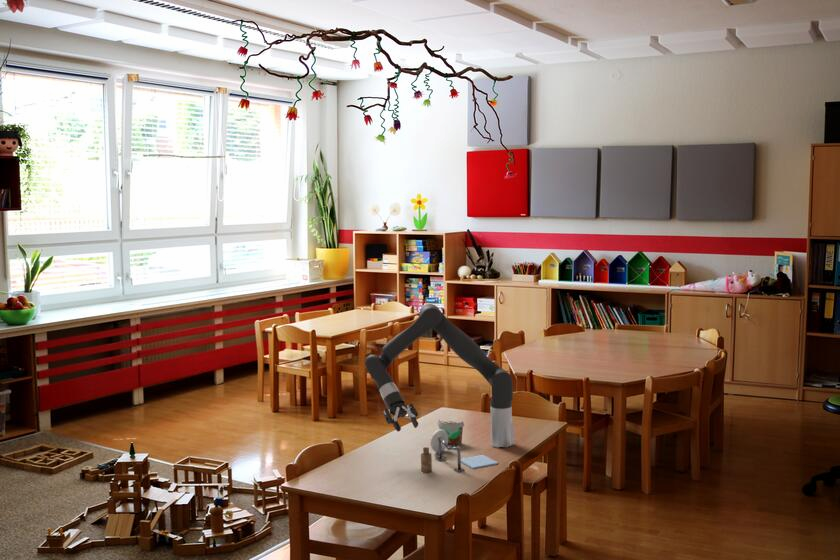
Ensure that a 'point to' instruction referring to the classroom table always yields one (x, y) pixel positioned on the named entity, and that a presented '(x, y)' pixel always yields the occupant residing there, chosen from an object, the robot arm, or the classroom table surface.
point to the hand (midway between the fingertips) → (408, 428)
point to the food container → (452, 431)
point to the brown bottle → (426, 461)
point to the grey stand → (449, 449)
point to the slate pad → (478, 461)
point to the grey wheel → (434, 440)
